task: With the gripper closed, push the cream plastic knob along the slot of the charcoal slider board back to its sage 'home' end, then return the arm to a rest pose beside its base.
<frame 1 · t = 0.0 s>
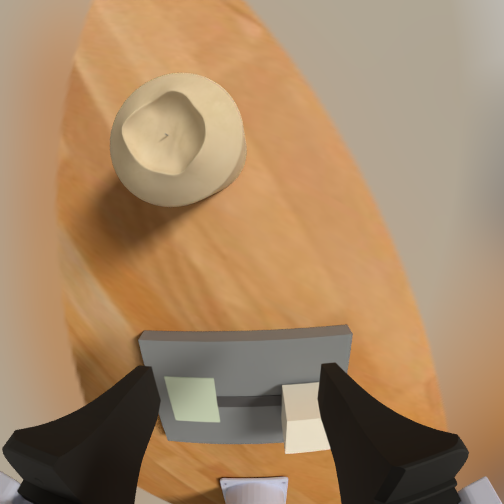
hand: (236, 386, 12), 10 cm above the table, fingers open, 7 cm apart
slider board: (247, 389, 24), on the table
knob: (306, 418, 20), point 4 cm above the table, slide at 9.0 cm
candle: (205, 152, 19), on the table
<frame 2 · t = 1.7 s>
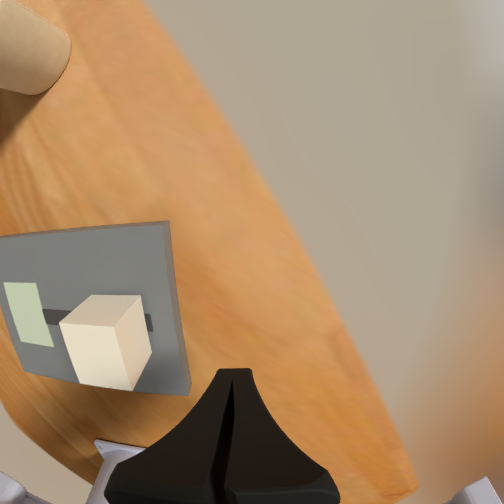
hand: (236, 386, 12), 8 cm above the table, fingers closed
slider board: (79, 309, 19), on the table
knob: (108, 339, 15), point 4 cm above the table, slide at 9.0 cm
candle: (45, 63, 15), on the table
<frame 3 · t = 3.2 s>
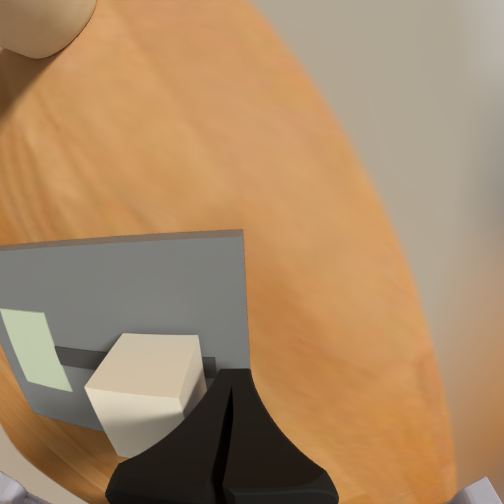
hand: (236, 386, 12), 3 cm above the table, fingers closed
slider board: (104, 345, 14), on the table
knob: (155, 398, 11), point 4 cm above the table, slide at 8.7 cm, touching gripper
candle: (59, 20, 10), on the table
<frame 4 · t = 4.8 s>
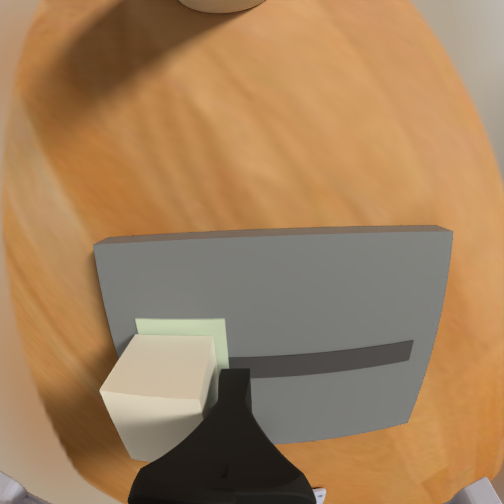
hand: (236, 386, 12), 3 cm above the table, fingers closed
slider board: (281, 348, 14), on the table
knob: (170, 400, 11), point 4 cm above the table, slide at -0.3 cm, touching gripper
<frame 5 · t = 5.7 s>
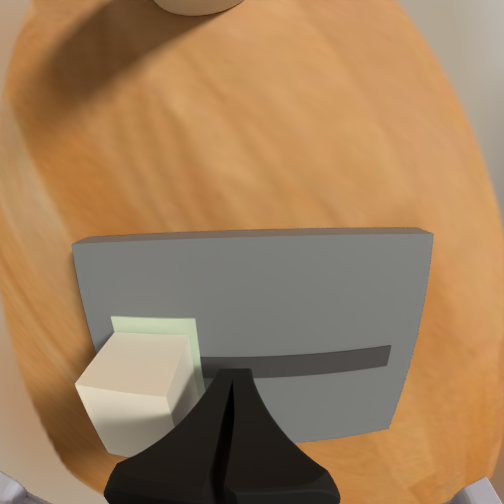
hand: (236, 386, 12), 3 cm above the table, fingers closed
slider board: (255, 349, 14), on the table
knob: (145, 397, 11), point 4 cm above the table, slide at 0.0 cm
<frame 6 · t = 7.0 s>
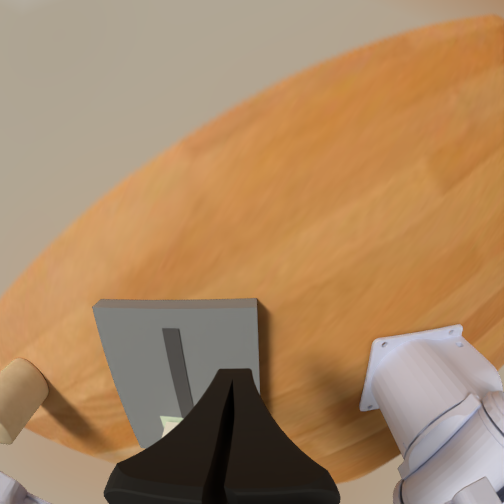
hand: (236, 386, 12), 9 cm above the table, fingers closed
slider board: (187, 386, 23), on the table
knob: (189, 452, 20), point 4 cm above the table, slide at 0.0 cm
candle: (31, 376, 24), on the table
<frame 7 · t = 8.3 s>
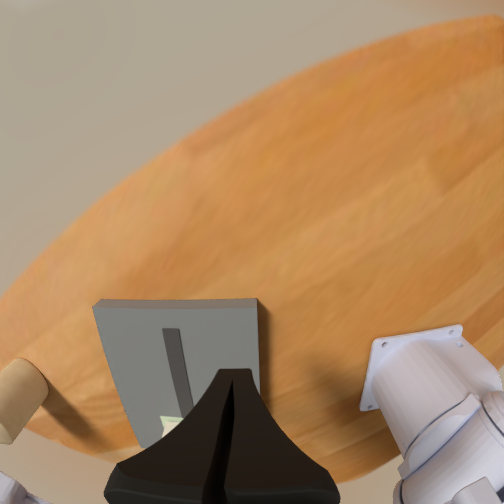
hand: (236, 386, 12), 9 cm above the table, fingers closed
slider board: (187, 386, 23), on the table
knob: (189, 452, 20), point 4 cm above the table, slide at 0.0 cm
candle: (31, 376, 24), on the table
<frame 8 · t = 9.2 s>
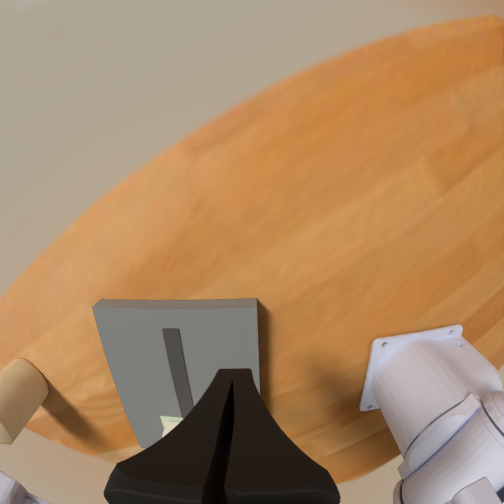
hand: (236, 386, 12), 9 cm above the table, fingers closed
slider board: (187, 386, 23), on the table
knob: (189, 452, 20), point 4 cm above the table, slide at 0.0 cm
candle: (31, 376, 24), on the table
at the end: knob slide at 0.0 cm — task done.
